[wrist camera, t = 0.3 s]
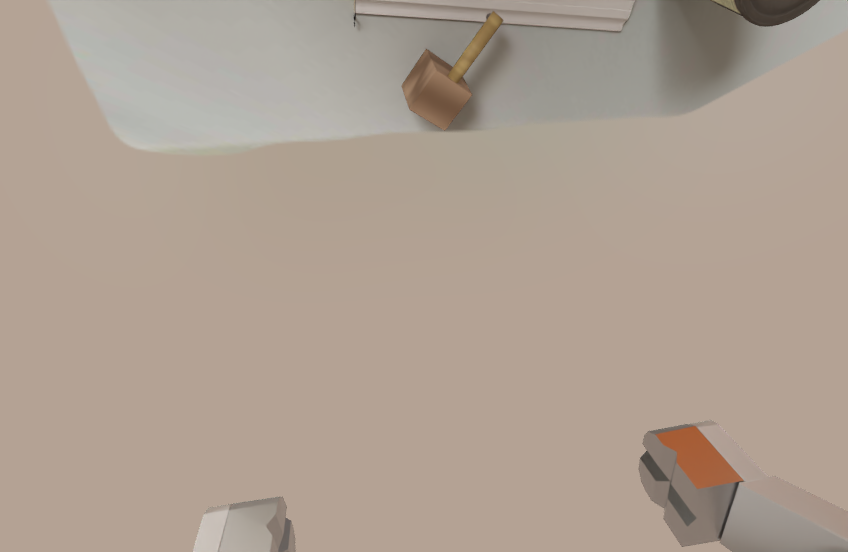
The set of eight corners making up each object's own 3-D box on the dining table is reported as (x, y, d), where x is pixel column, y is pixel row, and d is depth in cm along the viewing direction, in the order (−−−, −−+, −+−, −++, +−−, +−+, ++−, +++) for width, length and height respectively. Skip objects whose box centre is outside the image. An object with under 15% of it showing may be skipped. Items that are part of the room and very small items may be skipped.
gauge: (467, -15, 50) (482, 3, 46) (501, 14, 53) (518, 33, 49) (401, 85, 57) (409, 109, 53) (434, 106, 59) (444, 130, 55)
